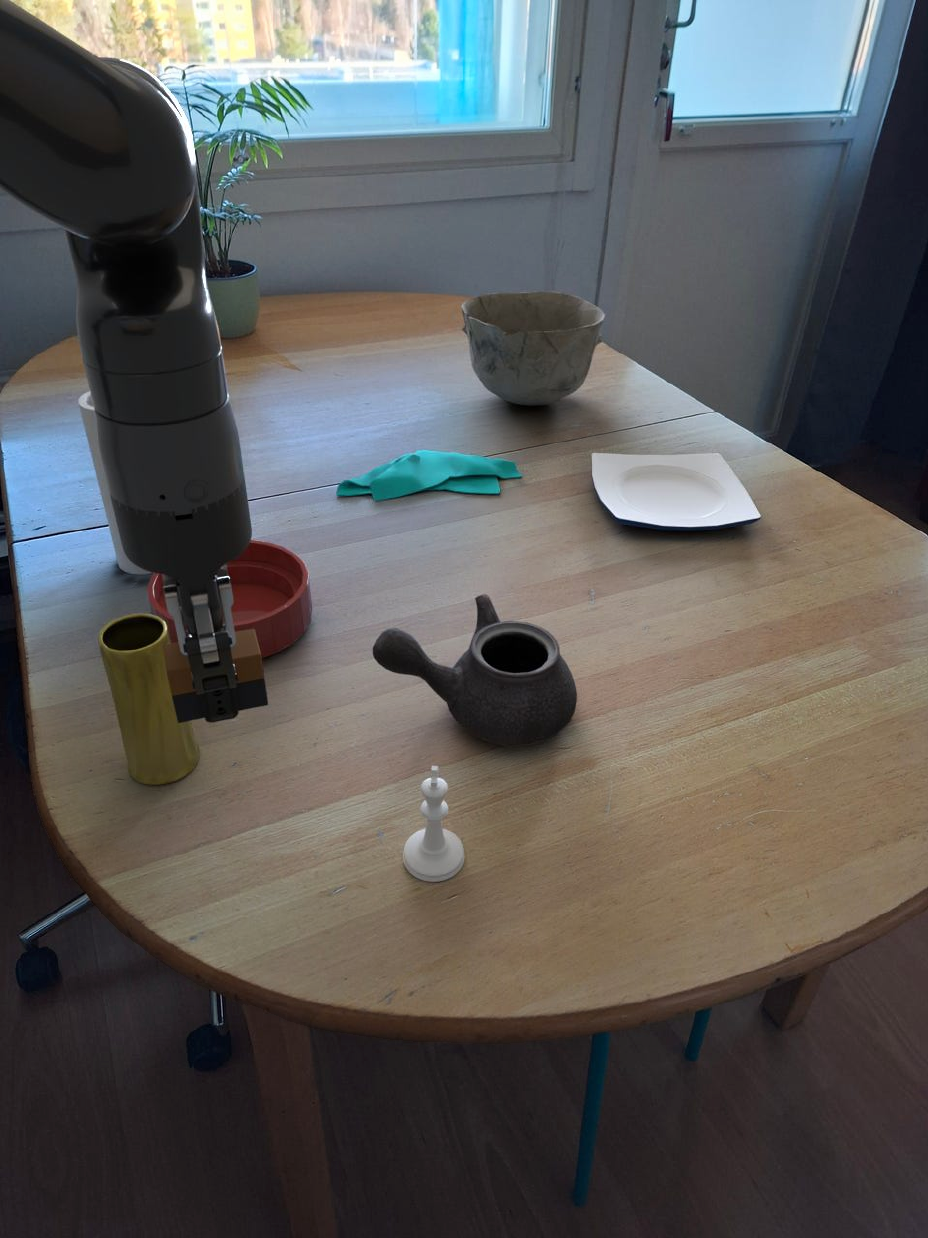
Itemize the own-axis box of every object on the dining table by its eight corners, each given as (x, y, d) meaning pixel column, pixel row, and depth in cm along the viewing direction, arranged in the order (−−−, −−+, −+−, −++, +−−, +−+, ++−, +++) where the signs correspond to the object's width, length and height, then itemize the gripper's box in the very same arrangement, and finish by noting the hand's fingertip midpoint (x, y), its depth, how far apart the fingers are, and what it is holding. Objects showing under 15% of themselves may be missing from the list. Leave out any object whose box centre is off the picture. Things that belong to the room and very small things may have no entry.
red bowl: (162, 684, 85) (151, 639, 82) (153, 593, 98) (143, 552, 94) (326, 653, 90) (322, 610, 87) (297, 571, 102) (293, 530, 99)
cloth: (511, 451, 129) (512, 436, 128) (529, 495, 119) (530, 480, 117) (335, 457, 126) (334, 442, 125) (336, 503, 115) (335, 487, 114)
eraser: (178, 723, 58) (166, 672, 56) (174, 695, 61) (163, 644, 58) (268, 705, 60) (261, 654, 57) (261, 678, 62) (254, 628, 60)
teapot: (534, 641, 93) (541, 561, 87) (596, 739, 81) (609, 655, 75) (359, 673, 88) (354, 591, 82) (399, 783, 76) (396, 696, 70)
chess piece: (465, 833, 72) (468, 745, 66) (463, 883, 68) (467, 795, 62) (405, 831, 72) (403, 743, 66) (400, 881, 68) (397, 792, 62)
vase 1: (120, 579, 100) (79, 414, 88) (115, 548, 105) (76, 388, 93) (221, 561, 103) (194, 400, 91) (211, 531, 109) (185, 376, 97)
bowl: (442, 383, 150) (443, 294, 141) (554, 368, 157) (562, 282, 149) (496, 434, 134) (501, 337, 125) (618, 415, 141) (631, 321, 132)
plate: (766, 539, 111) (771, 521, 109) (607, 540, 110) (610, 522, 108) (720, 466, 127) (723, 449, 126) (581, 466, 126) (583, 449, 124)
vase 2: (116, 757, 77) (78, 629, 69) (180, 727, 81) (152, 600, 72) (147, 797, 74) (111, 667, 65) (212, 763, 77) (187, 635, 69)
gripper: (105, 432, 54) (156, 650, 64) (109, 546, 44) (170, 785, 54) (228, 418, 56) (258, 631, 67) (261, 524, 46) (291, 758, 56)
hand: (219, 699), depth 60 cm, fingers closed on eraser, 3 cm apart
